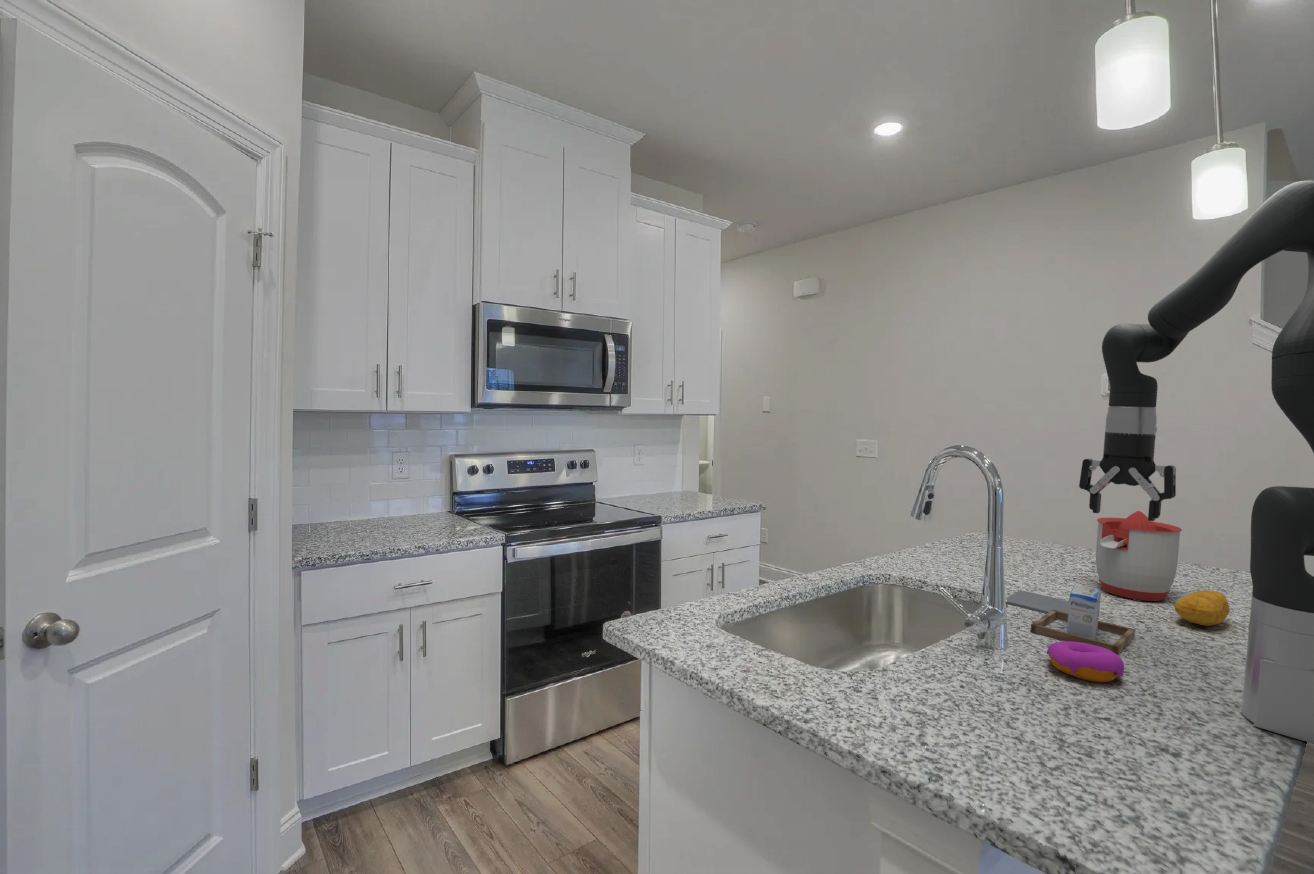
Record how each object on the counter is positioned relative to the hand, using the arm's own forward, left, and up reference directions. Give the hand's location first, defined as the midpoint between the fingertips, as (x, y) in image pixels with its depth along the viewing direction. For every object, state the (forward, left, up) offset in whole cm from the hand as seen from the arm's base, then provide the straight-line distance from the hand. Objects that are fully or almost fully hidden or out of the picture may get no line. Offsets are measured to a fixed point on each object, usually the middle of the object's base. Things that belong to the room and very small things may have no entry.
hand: (1123, 516), depth 114 cm
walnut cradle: (-4, +4, -23) cm, 24 cm away
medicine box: (-4, +4, -23) cm, 24 cm away
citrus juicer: (+36, +4, -23) cm, 43 cm away
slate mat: (+10, +15, -23) cm, 29 cm away
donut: (-24, -1, -24) cm, 34 cm away
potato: (+24, -10, -23) cm, 35 cm away
